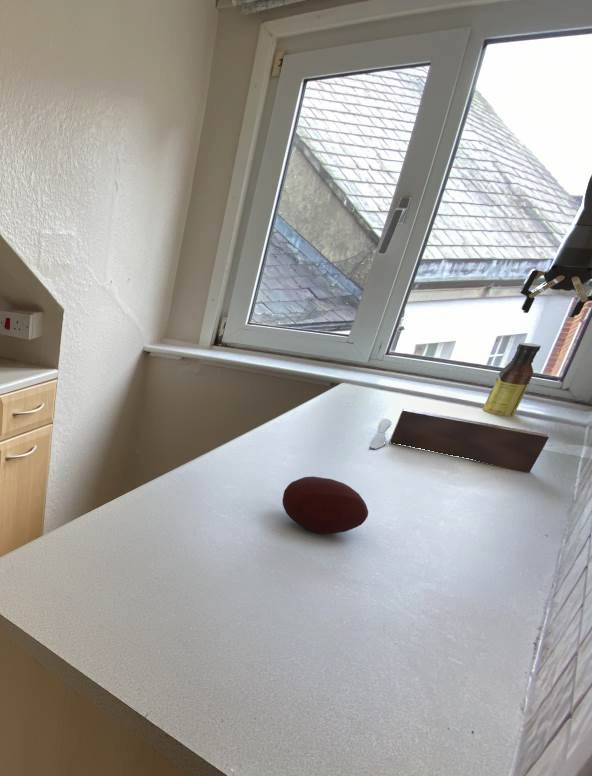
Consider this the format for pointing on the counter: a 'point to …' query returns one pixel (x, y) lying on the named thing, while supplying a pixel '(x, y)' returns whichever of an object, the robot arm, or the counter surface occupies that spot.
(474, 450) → the backsplash board
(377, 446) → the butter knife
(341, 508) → the potato
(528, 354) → the sauce bottle
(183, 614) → the counter surface
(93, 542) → the counter surface
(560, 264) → the robot arm
